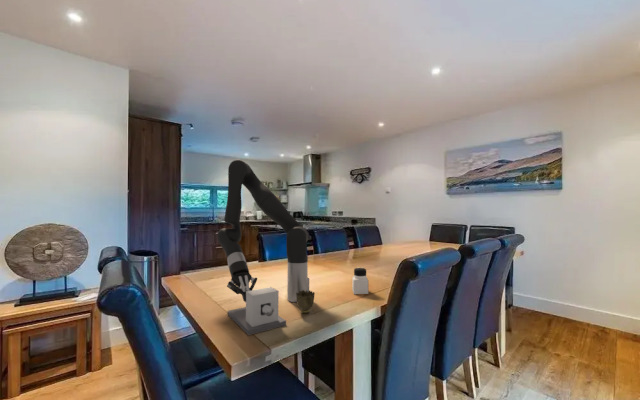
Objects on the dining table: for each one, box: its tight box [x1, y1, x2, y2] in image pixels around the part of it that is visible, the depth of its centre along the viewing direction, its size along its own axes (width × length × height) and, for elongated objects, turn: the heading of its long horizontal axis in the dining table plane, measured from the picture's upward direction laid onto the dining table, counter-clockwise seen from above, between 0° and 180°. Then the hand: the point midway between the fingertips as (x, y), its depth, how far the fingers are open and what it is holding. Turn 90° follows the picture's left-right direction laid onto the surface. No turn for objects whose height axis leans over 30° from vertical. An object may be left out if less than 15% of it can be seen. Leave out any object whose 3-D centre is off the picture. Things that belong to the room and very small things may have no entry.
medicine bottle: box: [351, 267, 369, 295], centre depth 139 cm, size 7×7×12 cm
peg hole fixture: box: [227, 286, 287, 336], centre depth 105 cm, size 14×22×12 cm, turn 36°
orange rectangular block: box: [261, 304, 274, 316], centre depth 99 cm, size 6×11×9 cm, turn 36°
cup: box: [296, 290, 316, 315], centre depth 112 cm, size 8×7×8 cm
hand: (248, 301), depth 110 cm, fingers closed
